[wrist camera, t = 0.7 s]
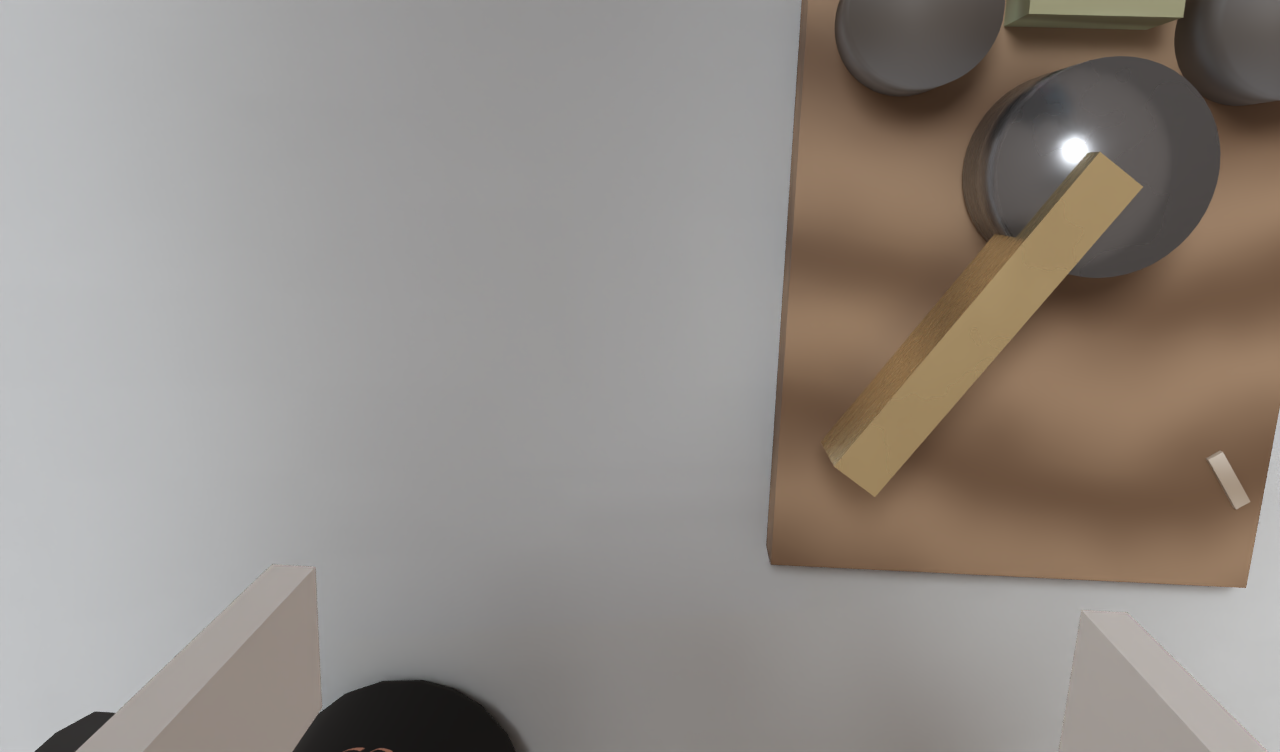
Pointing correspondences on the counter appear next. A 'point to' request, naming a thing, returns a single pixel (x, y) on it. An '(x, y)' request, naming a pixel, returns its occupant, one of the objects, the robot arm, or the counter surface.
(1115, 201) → the ball-head mallet
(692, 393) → the counter surface
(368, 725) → the coffee jar
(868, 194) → the instrument base
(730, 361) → the counter surface
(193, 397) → the counter surface
